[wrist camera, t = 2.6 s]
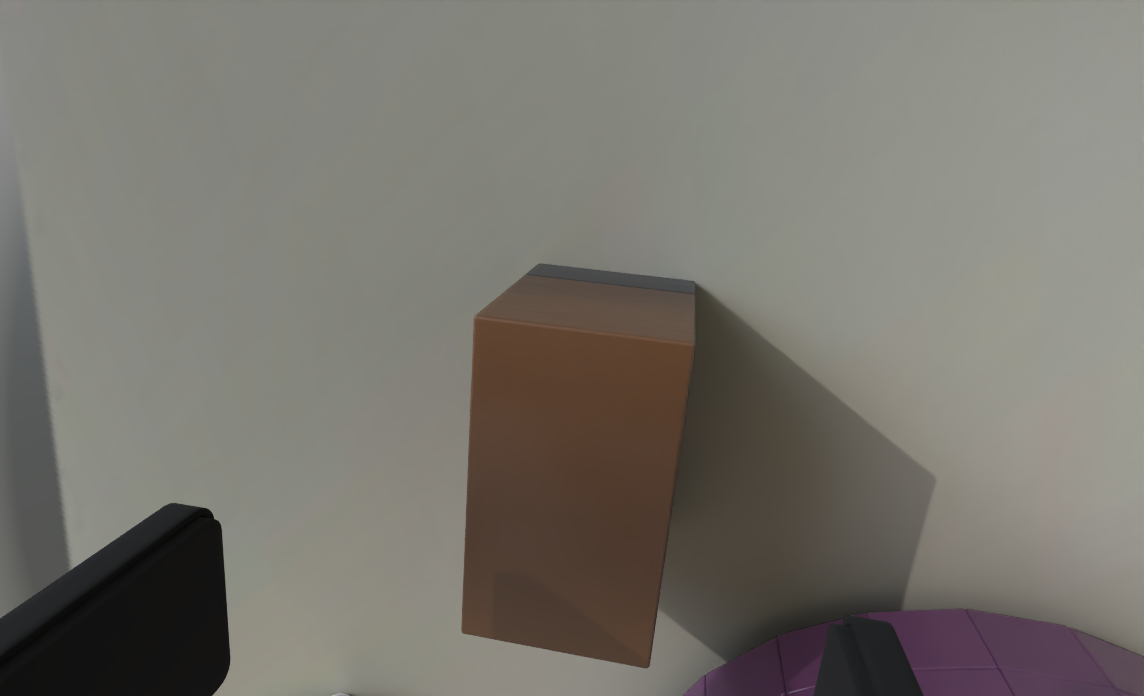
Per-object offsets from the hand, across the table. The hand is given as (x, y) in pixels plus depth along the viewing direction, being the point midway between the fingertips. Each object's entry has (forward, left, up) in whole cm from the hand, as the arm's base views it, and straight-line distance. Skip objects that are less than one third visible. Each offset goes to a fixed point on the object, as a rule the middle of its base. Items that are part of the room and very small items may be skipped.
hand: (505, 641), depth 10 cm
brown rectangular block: (-1, 0, -9) cm, 9 cm away
